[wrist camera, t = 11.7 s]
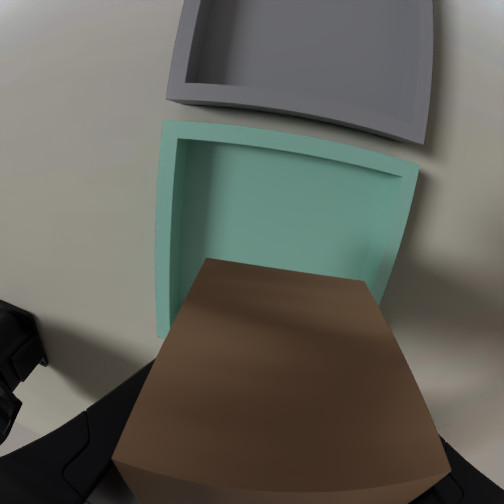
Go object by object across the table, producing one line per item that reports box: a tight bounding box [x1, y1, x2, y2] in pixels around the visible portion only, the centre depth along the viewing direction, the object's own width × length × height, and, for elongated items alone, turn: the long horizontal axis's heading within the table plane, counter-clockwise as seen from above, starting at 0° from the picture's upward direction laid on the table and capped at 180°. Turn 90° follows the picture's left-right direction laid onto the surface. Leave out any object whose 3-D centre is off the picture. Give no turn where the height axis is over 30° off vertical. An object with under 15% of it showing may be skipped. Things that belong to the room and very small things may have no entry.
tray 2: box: [155, 120, 420, 339], centre depth 15 cm, size 12×12×2 cm
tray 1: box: [166, 0, 433, 145], centre depth 10 cm, size 12×12×2 cm
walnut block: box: [111, 257, 451, 504], centre depth 6 cm, size 4×4×6 cm
